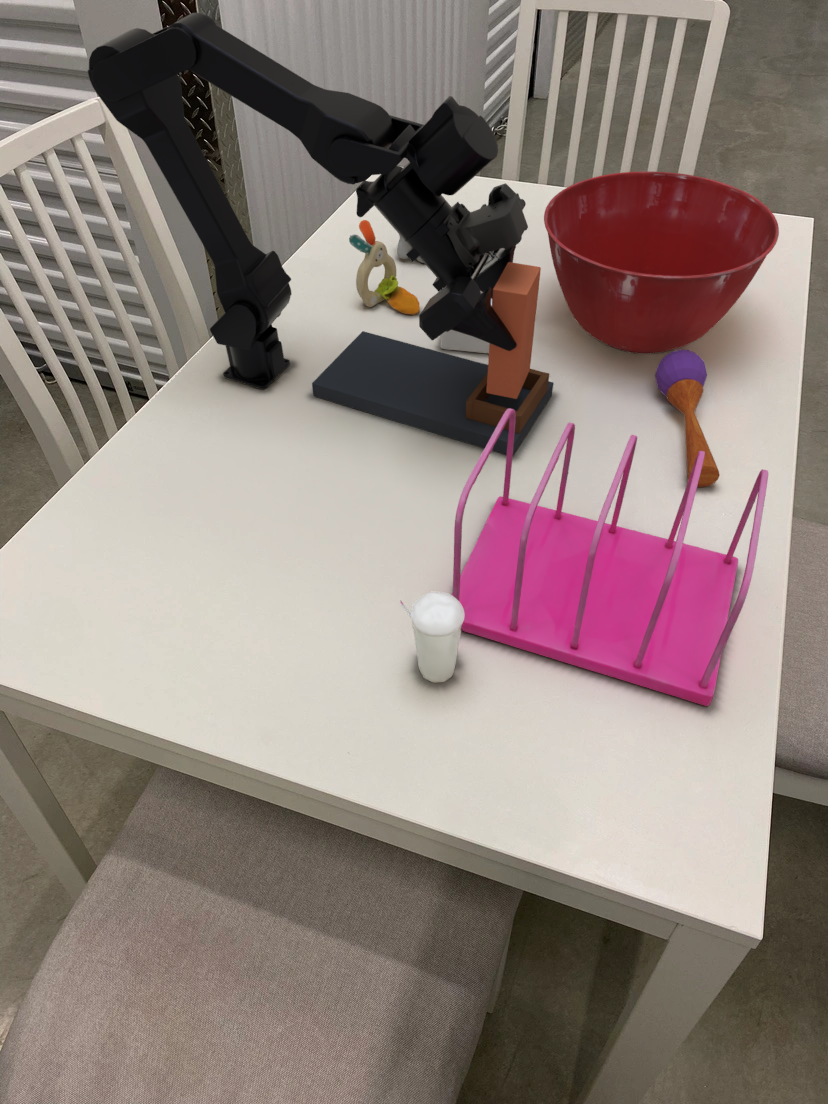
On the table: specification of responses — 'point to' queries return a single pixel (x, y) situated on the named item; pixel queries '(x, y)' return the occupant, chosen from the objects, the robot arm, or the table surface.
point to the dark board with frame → (429, 391)
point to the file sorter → (602, 582)
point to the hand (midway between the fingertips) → (520, 333)
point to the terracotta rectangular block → (513, 328)
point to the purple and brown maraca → (688, 405)
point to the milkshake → (436, 633)
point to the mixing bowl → (655, 255)
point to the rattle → (389, 284)
